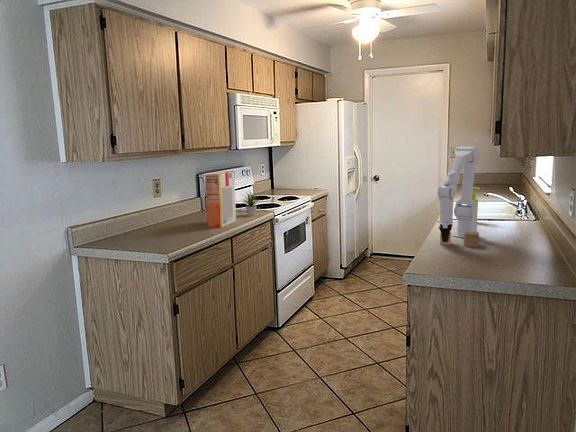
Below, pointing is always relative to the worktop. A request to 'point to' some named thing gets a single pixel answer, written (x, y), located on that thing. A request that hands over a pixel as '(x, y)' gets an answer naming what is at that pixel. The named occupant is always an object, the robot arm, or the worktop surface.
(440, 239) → the terracotta block
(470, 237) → the tower top
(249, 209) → the house plant
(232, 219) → the pasta box
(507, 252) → the worktop surface
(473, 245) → the tower base
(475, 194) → the soap dispenser
